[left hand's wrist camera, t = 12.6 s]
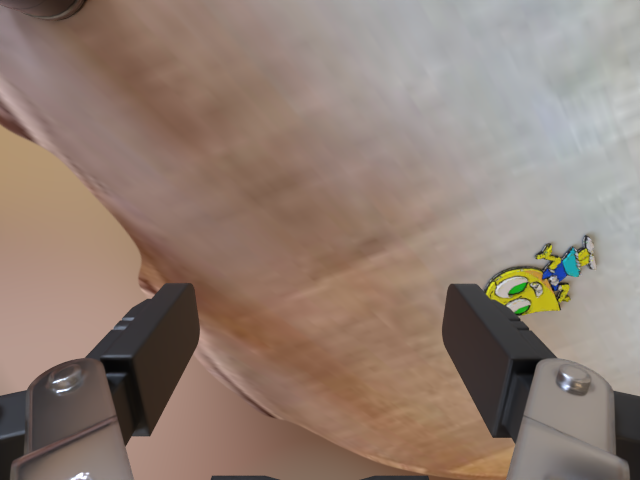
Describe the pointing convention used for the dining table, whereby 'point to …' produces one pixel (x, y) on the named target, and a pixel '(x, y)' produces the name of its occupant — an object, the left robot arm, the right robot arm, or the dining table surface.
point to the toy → (540, 281)
